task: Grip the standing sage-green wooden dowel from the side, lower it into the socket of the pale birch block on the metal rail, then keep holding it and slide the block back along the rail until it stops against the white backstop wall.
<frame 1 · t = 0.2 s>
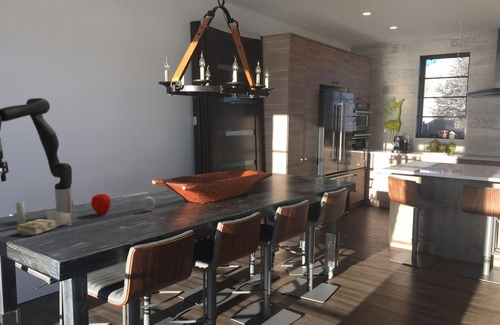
socket block: (36, 226, 220), point 3 cm above the table, slide at 8.0 cm
dowel: (21, 227, 229), on the table
rail base: (42, 229, 223), on the table
donut: (148, 211, 266), on the table
apple: (101, 214, 258), on the table
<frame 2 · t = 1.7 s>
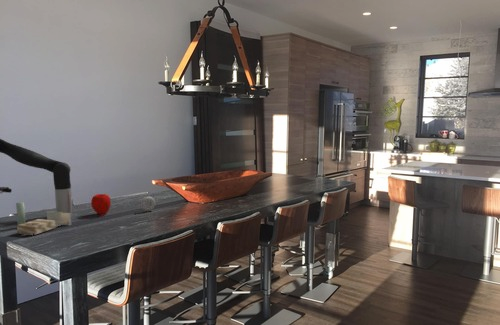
hand: (4, 191, 230), 20 cm above the table, tool horizontal, fingers open, 8 cm apart
nothing on the table moved.
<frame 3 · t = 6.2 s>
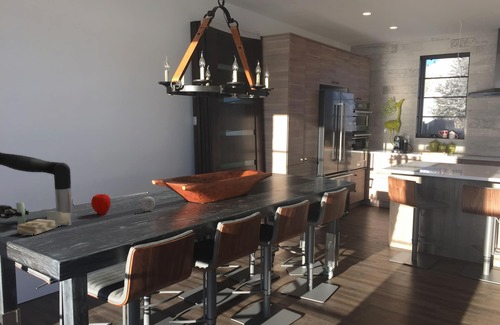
hand: (24, 213, 227), 8 cm above the table, tool horizontal, fingers closed on dowel, 4 cm apart
dowel: (22, 227, 229), on the table, touching gripper
everything else where it was.
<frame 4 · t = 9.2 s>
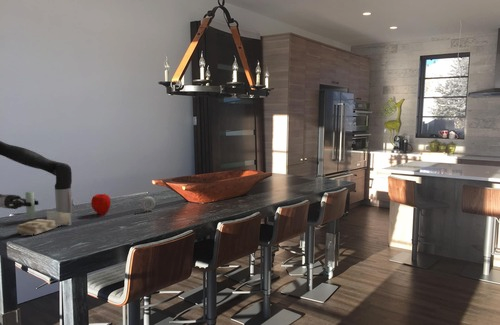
hand: (34, 203, 215), 16 cm above the table, tool horizontal, fingers closed on dowel, 4 cm apart
dowel: (31, 218, 216), point 8 cm above the table, touching gripper
everything else where it was.
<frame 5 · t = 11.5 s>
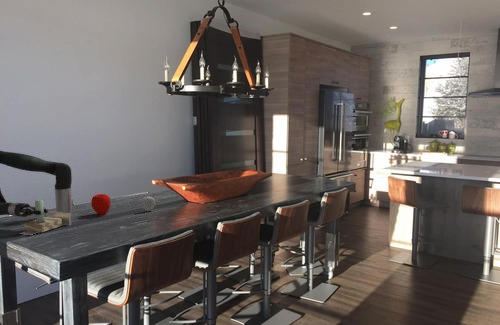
hand: (43, 211, 221), 10 cm above the table, tool horizontal, fingers closed on dowel, 4 cm apart
socket block: (43, 224, 224), point 3 cm above the table, slide at 3.3 cm, touching dowel
dowel: (40, 225, 222), point 2 cm above the table, touching gripper, socket block
everything else where it was.
when the fingers open (10 cm above the table, at t = 12.6 s): dowel stays where it is, resting on socket block.
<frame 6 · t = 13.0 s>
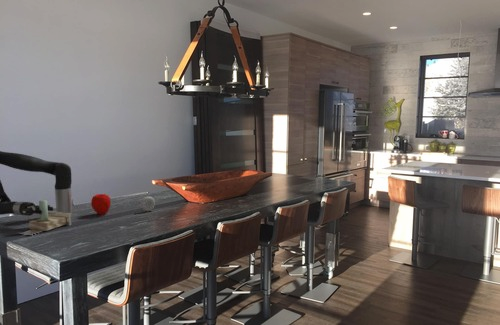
hand: (47, 210, 224), 10 cm above the table, tool horizontal, fingers open, 7 cm apart
socket block: (48, 222, 227), point 3 cm above the table, slide at 0.2 cm, touching dowel
dowel: (44, 225, 225), point 2 cm above the table, touching socket block
everything else where it was.
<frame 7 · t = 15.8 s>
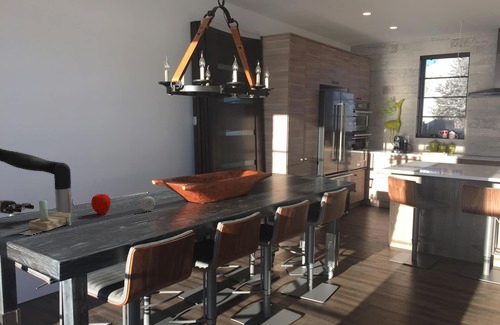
hand: (27, 208, 228), 10 cm above the table, tool horizontal, fingers open, 8 cm apart
nothing on the table moved.
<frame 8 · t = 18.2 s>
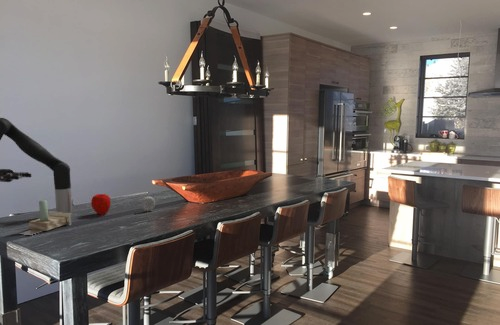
hand: (24, 176, 232), 28 cm above the table, tool horizontal, fingers open, 8 cm apart
nothing on the table moved.
at the end: socket block slide at 0.2 cm; dowel 0.3 cm from the target spot, point 1.7 cm above the table; dowel tilted 0° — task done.
